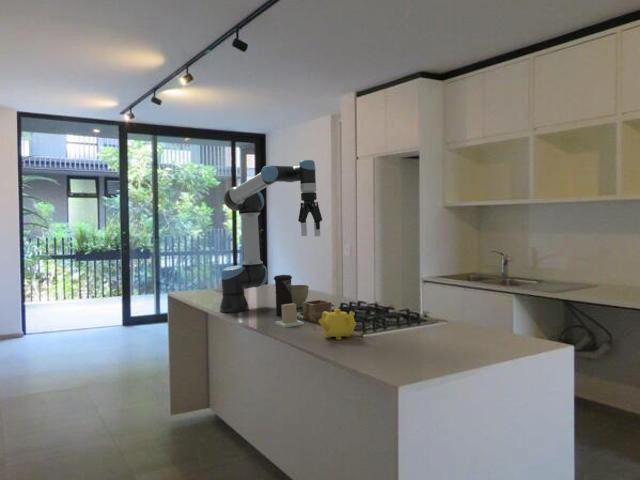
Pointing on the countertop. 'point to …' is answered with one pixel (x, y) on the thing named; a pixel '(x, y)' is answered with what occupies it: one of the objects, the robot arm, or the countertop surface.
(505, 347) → the countertop surface
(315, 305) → the crate
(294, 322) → the beige block on base
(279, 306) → the container
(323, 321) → the yellow rounded knobbed block
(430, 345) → the countertop surface
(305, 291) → the planter bowl
